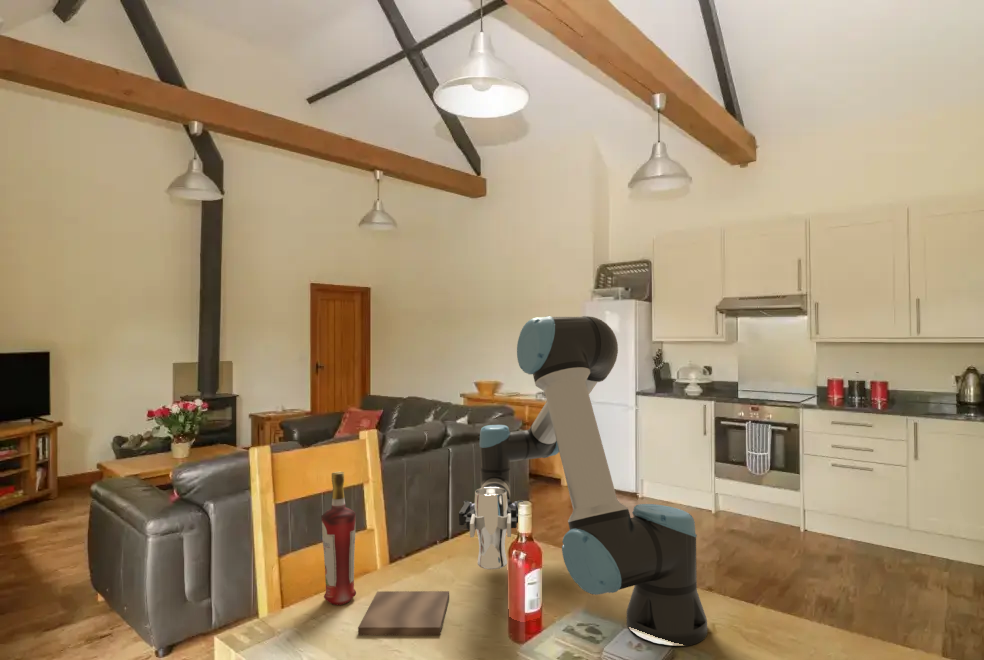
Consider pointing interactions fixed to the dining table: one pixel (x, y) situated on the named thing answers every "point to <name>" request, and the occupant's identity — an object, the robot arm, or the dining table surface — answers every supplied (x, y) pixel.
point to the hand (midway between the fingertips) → (490, 530)
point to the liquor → (339, 546)
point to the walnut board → (405, 613)
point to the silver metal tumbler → (491, 526)
